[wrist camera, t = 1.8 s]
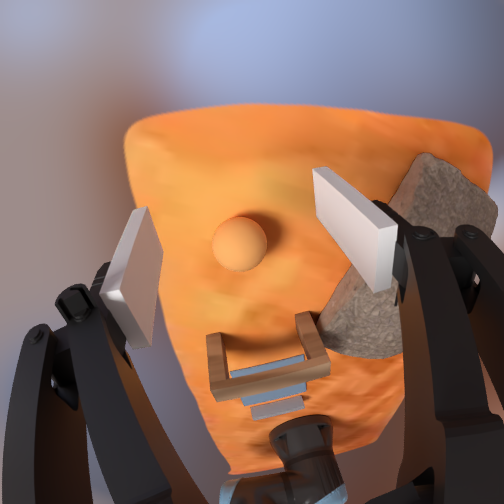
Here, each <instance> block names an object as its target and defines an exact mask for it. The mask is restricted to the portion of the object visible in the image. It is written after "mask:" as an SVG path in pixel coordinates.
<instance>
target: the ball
mask: <svg viewBox="0 0 504 504" xmlns="http://www.w3.org/2000/svg"><path fill="white" fill-rule="evenodd" d="M212 249H213V253H214V256H215V258H216V259H217V261H218V262H219V263H220V264H221V265H222V266H223V267H225V268H226V269H228V270H231V271H235V272H244V271H248V270H251V269H253V268H254V267H256V266H257V265H258V264H259V263H260V262H261V261H262V259H263V258H264V256H265V253H266V250H267V239H266V235H265V233H264V231H263V229H262V228H261V227H260V225H258V224H257V223H256V222H255V221H253V220H251V219H249V218H245V217H234V218H230V219H228V220H226V221H224V222H223V223H222V224H221V225H220V226H219V227H218V228H217V229H216V231H215V233H214V236H213V239H212Z"/></svg>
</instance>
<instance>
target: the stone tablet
mask: <svg viewBox="0 0 504 504" xmlns="http://www.w3.org/2000/svg"><path fill="white" fill-rule="evenodd" d="M388 206H390V207H391V208H392V209H393V210H395V211H396V212H397V213H398V215H401V216H402V217H403V218H404V219H405V220H407V221H408V222H409V223H410V224H411V225H413V226H425V227H428V228H431V229H433V230H434V231H436V233H437V234H438V235H439V237H454V233H455V228H456V227H457V226H459V225H462V224H470V225H474V226H475V227H477V228H479V229H480V230H482V231H483V232H484V233H485V234H486V235H487V236H488V237H489V238H490V239H491V235H492V233H493V230H494V226H495V223H496V219H497V216H498V207H497V205H496V204H495V202H494V201H493V200H492V199H491V198H490V197H489V196H488V195H487V194H486V193H485V191H483V190H482V189H481V188H479V187H478V186H477V185H475V184H473V183H471V182H470V181H469V180H468V179H467V178H466V177H464V176H463V175H462V174H461V171H460V170H459V169H457V168H456V167H454V166H453V165H451V164H450V163H448V162H446V161H444V160H441V159H438V158H435V157H434V156H433V155H432V154H430V153H421V154H418V155H417V157H416V158H415V160H414V161H413V163H412V165H411V167H410V169H409V171H408V173H407V175H406V176H405V178H404V179H403V181H402V182H401V184H400V186H399V188H398V190H397V192H396V193H395V194H394V196H393V197H392V199H391V201H390V202H389V204H388ZM397 287H398V281H397V280H396V279H395V278H394V276H393V275H392V282H391V288H389V289H386V290H382V291H379V292H376V293H373V292H372V290H371V289H370V288H369V286H368V285H367V283H366V282H365V280H364V279H363V278H362V276H361V275H360V274H359V272H358V271H357V269H356V268H355V267H354V265H353V264H352V265H351V267H350V268H349V270H348V271H347V273H346V274H345V276H344V277H343V279H342V280H341V281H340V283H339V284H338V285H337V287H336V289H335V291H334V293H333V295H332V297H331V298H330V300H329V302H328V303H327V305H326V306H325V308H324V309H323V310H322V312H321V314H320V316H319V319H318V321H317V324H316V326H315V327H316V329H317V331H318V333H319V336H320V338H321V340H322V343H323V345H324V347H326V348H328V349H331V350H333V351H335V352H338V353H340V354H344V355H349V356H354V357H362V358H367V359H384V358H388V357H391V356H394V355H397V354H400V353H402V352H403V346H402V334H401V323H400V314H399V305H398V303H397V306H394V304H395V298H396V292H397Z"/></svg>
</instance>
